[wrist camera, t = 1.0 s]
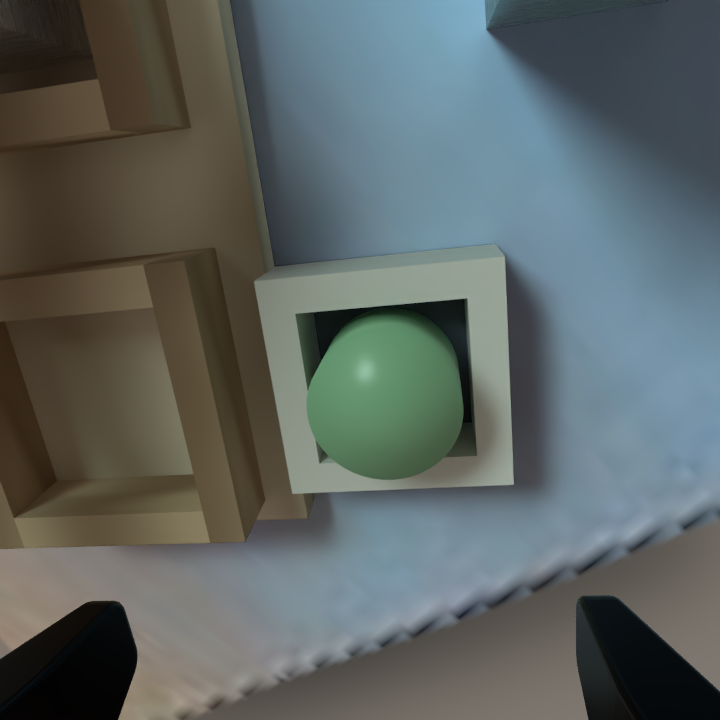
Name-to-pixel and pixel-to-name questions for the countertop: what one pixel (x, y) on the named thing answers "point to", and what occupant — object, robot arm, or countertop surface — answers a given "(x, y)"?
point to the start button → (387, 395)
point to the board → (135, 291)
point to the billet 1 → (41, 34)
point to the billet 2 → (547, 9)
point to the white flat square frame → (382, 288)
